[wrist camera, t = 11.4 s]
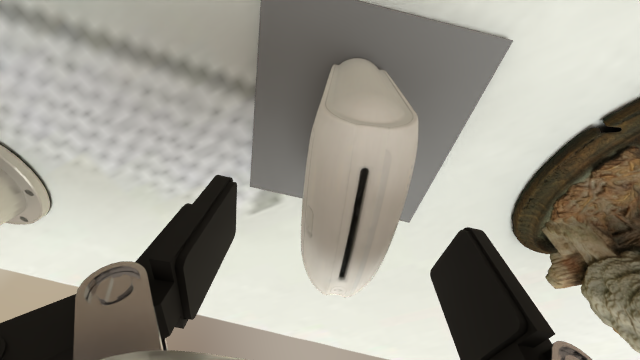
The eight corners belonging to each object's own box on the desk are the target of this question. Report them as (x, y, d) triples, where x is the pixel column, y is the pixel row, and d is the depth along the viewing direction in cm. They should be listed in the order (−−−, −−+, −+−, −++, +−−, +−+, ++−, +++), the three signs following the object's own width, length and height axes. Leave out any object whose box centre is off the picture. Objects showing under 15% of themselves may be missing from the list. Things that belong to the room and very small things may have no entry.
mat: (252, 183, 24) (250, 186, 23) (265, -23, 15) (262, -25, 15) (407, 218, 24) (409, 222, 24) (507, 39, 16) (513, 40, 15)
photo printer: (363, 185, 22) (377, 327, 12) (316, 179, 22) (290, 314, 12) (391, 61, 16) (466, 126, 6) (329, 54, 17) (298, 106, 6)
